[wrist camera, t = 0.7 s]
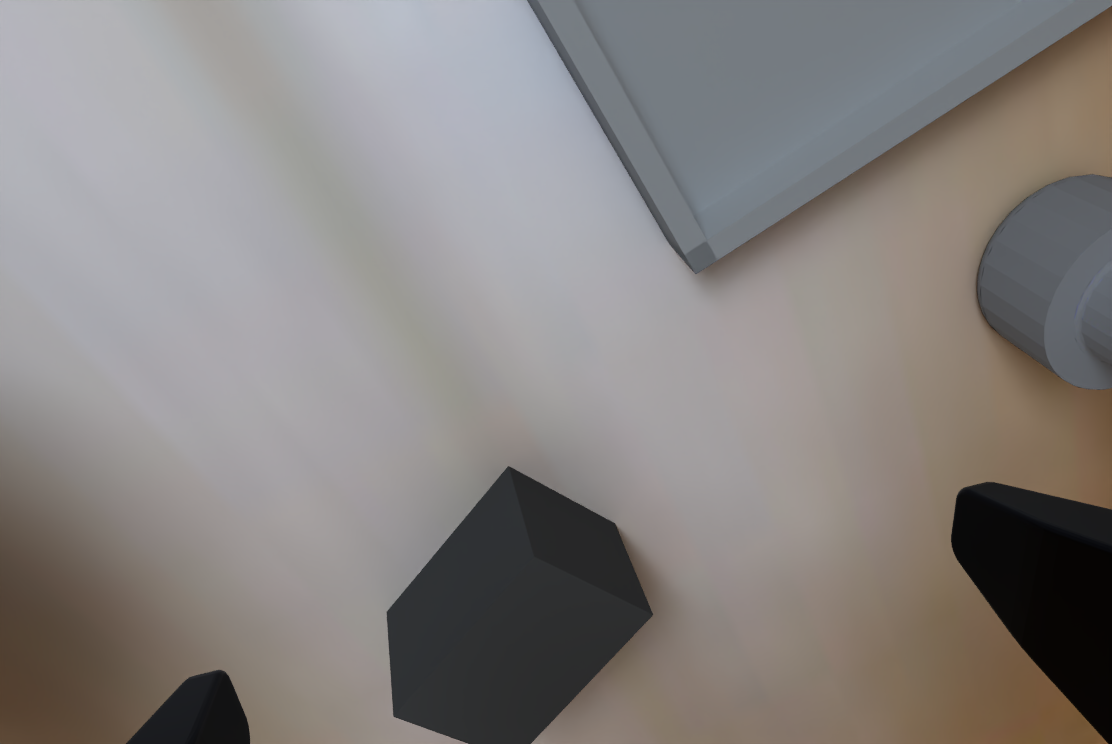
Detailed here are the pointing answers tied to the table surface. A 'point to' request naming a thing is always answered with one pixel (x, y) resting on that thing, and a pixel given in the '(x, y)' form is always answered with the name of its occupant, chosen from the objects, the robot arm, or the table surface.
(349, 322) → the table surface
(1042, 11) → the tray
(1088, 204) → the bolt
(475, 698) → the block
